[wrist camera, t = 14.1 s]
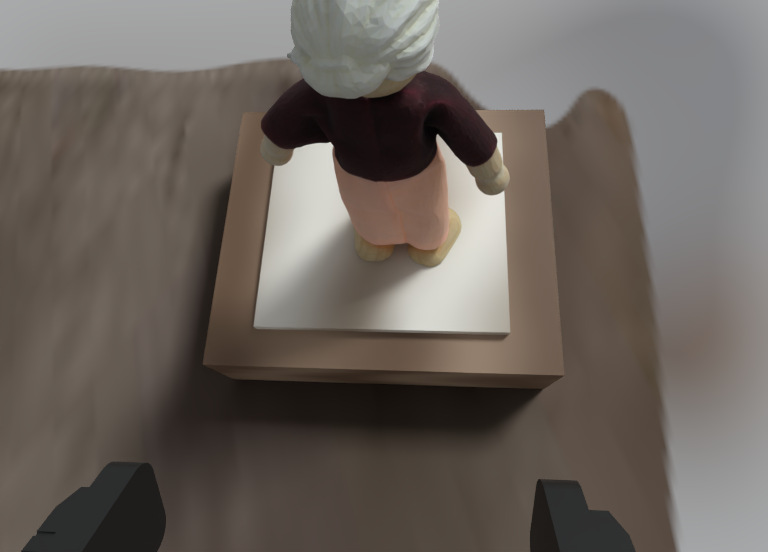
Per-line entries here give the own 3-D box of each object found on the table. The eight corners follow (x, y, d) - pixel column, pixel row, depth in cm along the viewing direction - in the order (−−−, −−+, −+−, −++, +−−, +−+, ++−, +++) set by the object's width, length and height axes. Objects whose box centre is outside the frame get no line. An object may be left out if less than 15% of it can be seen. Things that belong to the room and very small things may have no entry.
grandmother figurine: (480, 185, 22) (549, -142, 10) (490, 269, 21) (580, 6, 9) (301, 196, 23) (167, -106, 11) (299, 279, 21) (143, 41, 9)
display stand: (233, 379, 24) (198, 362, 20) (264, 155, 28) (239, 107, 24) (543, 389, 23) (567, 373, 19) (528, 154, 27) (546, 103, 23)
